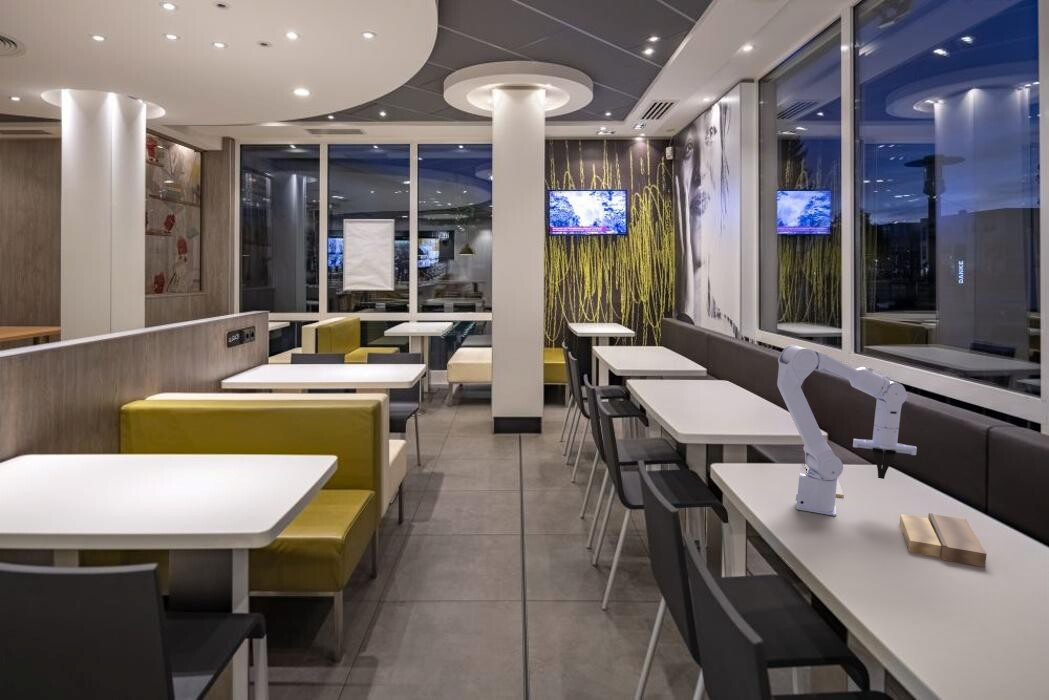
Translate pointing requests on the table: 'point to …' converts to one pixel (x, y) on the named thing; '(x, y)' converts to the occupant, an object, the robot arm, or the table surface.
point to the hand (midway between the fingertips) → (880, 477)
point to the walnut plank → (957, 540)
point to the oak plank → (919, 535)
